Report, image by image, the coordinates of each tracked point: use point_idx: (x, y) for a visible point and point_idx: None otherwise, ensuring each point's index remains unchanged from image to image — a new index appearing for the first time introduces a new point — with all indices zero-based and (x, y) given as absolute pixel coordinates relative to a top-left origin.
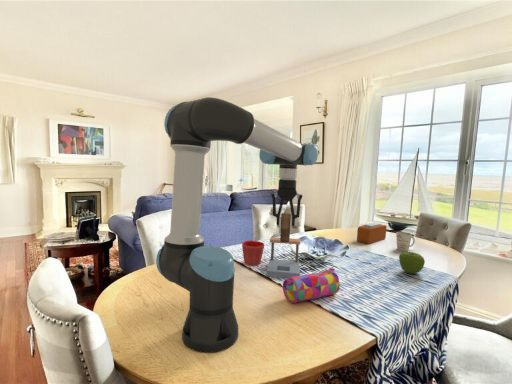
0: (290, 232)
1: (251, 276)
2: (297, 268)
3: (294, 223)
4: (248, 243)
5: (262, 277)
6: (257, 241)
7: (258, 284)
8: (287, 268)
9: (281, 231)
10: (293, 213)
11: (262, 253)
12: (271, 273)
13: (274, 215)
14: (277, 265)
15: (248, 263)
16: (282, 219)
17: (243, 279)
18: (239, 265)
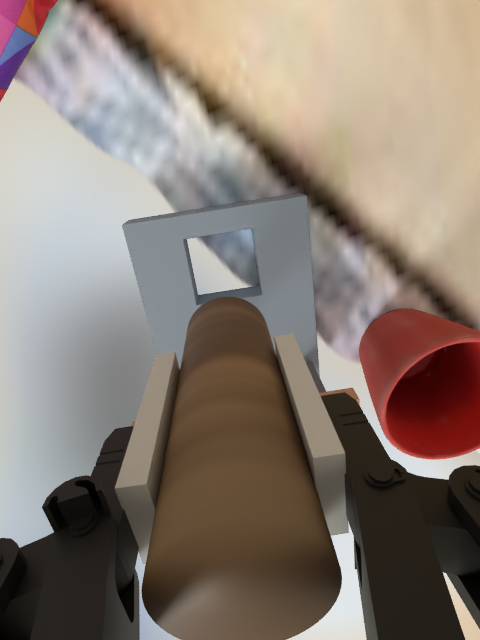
0: (164, 360)
1: (376, 162)
2: (152, 296)
3: (100, 456)
4: (478, 427)
5: (317, 171)
6: (430, 455)
7: (321, 58)
8: (208, 300)
9: (267, 350)
10: (56, 611)
11: (368, 377)
12: (276, 198)
13: (466, 479)
14: (263, 299)
15: (417, 310)
16: (284, 445)
17: (412, 101)
18: (457, 289)
